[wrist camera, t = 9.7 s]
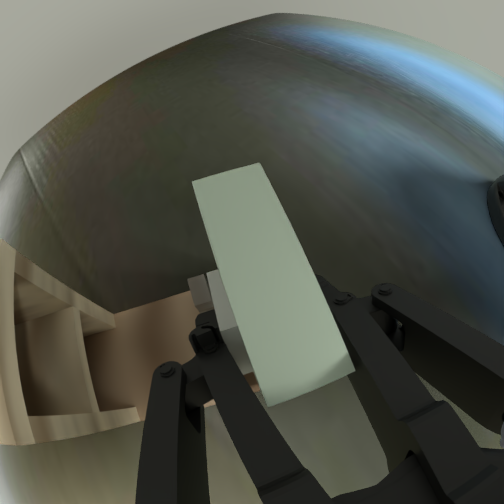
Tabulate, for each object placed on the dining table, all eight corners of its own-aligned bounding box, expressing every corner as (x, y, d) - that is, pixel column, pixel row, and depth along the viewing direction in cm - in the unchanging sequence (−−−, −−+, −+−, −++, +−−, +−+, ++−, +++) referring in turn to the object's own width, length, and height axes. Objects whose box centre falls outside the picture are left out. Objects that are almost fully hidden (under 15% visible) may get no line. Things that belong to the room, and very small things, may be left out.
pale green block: (272, 259, 22) (285, 156, 12) (317, 369, 18) (385, 355, 8) (220, 276, 21) (191, 181, 11) (260, 391, 18) (267, 407, 8)
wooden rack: (294, 262, 24) (334, 126, 11) (336, 359, 21) (450, 317, 7) (48, 339, 21) (-69, 285, 8) (66, 429, 17) (-61, 430, 4)
